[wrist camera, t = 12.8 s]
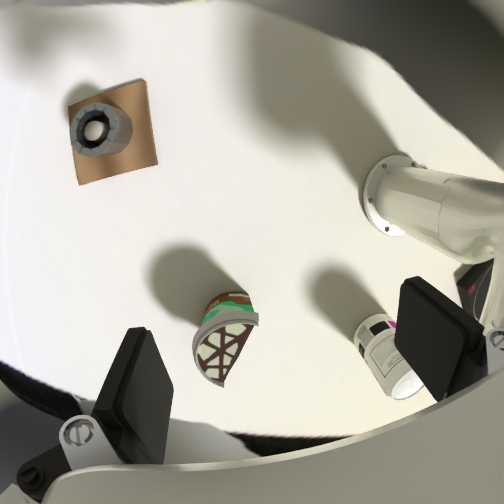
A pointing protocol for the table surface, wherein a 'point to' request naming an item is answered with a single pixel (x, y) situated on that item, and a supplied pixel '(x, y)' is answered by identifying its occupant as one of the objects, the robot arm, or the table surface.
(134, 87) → the wooden peg base
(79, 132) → the sleeve
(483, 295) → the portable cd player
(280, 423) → the table surface
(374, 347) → the supplement can
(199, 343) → the food container
